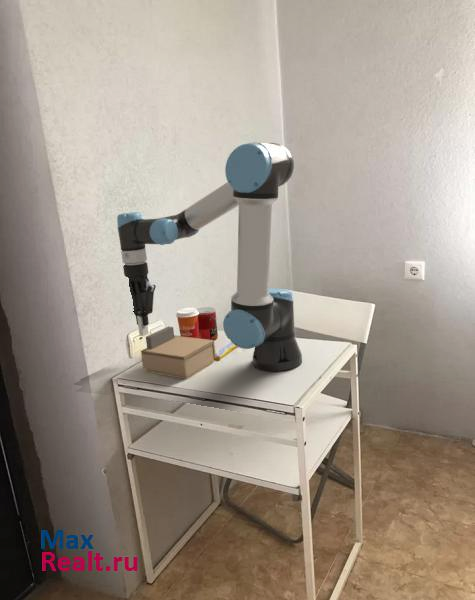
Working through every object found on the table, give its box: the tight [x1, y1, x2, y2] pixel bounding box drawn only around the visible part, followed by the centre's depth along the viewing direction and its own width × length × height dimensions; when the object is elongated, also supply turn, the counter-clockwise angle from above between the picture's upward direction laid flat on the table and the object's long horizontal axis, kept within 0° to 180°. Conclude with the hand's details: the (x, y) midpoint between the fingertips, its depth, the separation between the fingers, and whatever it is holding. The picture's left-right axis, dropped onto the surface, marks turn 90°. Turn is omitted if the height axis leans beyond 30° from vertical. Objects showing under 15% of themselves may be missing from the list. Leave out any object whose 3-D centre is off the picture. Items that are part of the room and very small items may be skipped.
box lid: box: [140, 326, 216, 375], centre depth 159 cm, size 16×16×10 cm
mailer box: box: [145, 345, 215, 380], centre depth 160 cm, size 16×14×6 cm
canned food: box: [196, 306, 219, 341], centre depth 185 cm, size 8×8×11 cm
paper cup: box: [175, 307, 199, 338], centre depth 174 cm, size 8×8×14 cm
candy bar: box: [214, 342, 238, 361], centre depth 171 cm, size 17×4×2 cm, turn 153°
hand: (144, 334), depth 166 cm, fingers closed
